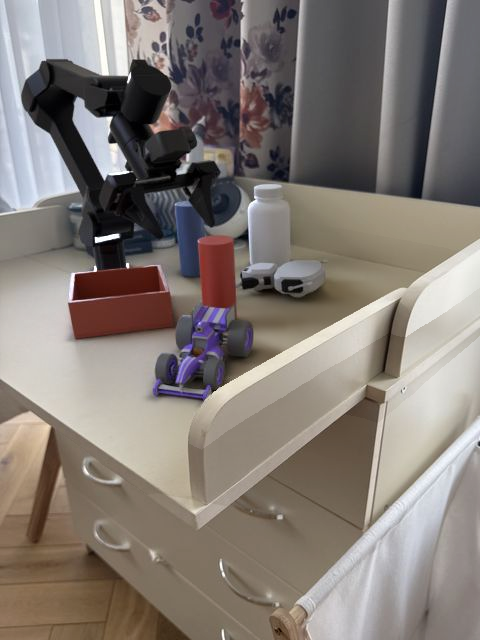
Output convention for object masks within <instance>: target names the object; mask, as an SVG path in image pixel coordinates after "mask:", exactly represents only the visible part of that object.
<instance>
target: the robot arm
mask: <svg viewBox="0 0 480 640" xmlns="http://www.w3.org/2000/svg"><path fill="white" fill-rule="evenodd" d="M171 91H172V81H171V80H170V77H169V76H168V75H167V74H165V73H164V72H163V71H161V70H160V69H159V68H157V67H156V66H153V65H150V64H149V63H148V62H147V61H146V59H138V58H137V59H134V58H133V59H132V60H131V63H130V66H129V72H128V75H112V74H111V75H109V74H108V75H107V74H106V75H104V74H99V73H97V72H95V71H93V70H90V69H89V68H85V67H82V66H81V65H78V64H76V63H74V62H73V61H72V60H69V59H67V58H45V60H41V61H40V64H39V66H38V69H37V70H36V71H34V72H33V73H32V74H30V76H28V77H27V78H26V79H25V81H24V83H23V87H22V90H21V93H20V100H21V104H22V107H23V109H24V111H25V113H27V115H28V116H29V117H30V119H31V120H32V123H34V125H35V126H37V127H38V128H40V129H41V130H43V131H44V132H46V133H48V134H49V136H50V137H51V139H52V141H53V143H54V146H55V147H56V149H57V151H58V152H59V155H60V156H61V158H62V160H63V162H64V165H65V166H66V168H67V170H68V171H69V174H70V176H71V178H72V180H73V181H74V184H75V185H76V187H77V189H78V192H79V193H80V195H81V197H82V205H81V211H80V212H81V213H80V214H81V217H82V218H81V221H80V224H79V227H78V230H77V233H78V237H79V240H80V243H81V244H84V245H85V246H88V247H90V248H92V253H93V258H94V264H95V266H94V268H93V269H94V270H93V271H100V270H110V269H120V268H130V265H129V264H130V263H129V262H127V257H126V250H125V242H124V241H125V240H132V239H134V235H135V225H137V226H138V227H140V228H142V229H143V230H145V231H146V232H148V233H149V234H151V235H152V236H153V237H155V238H156V239H158V240H159V241H160V240H162V239H163V238H164V235H165V234H164V232H163V230H162V228H161V225H160V223H159V222H158V220H157V218H156V216H155V214H154V213H153V210H151V207H150V206H149V204H148V202H147V199H146V195H147V194H152V193H153V194H156V193H157V194H158V193H161V192H163V193H164V192H168V191H175V190H179V189H182V190H183V192H184V193H185V195H186V196H188V199H187V201H189V202H190V204H191V205H192V206H193V208H194V209H195V210H196V211H197V213H198V214H199V215H200V216H201V218H202V219H203V220H204V224H206V225H207V226H208V227H209V228H213V227H215V225H216V219H215V215H214V208H213V203H212V192H211V191H212V188H213V187H214V185H215V183H216V182H217V180H218V179H219V177H220V175H221V174H222V171H221V170H220V168H219V166H218V165H217V163H216V161H215V160H210V159H208V160H200V161H194V162H190V165H189V167H188V169H187V170H186V172H185V173H180V174H178V173H177V170H179V169H180V168H181V167H182V164H183V163H182V161H181V159H182V158H183V157H185V156H186V155H190V153H192V150H194V149H195V148H197V147H198V139H197V137H196V134H195V132H194V130H193V129H192V128H191V127H190V125H184V126H183V125H182V126H179V127H178V129H168V130H167V129H165V130H159V131H157V132H154V130H153V128H152V127H151V125H153V124H156V123H157V122H158V121H159V119H160V117H161V115H162V113H163V110H164V108H165V105H166V103H167V101H168V98H169V95H170V93H171ZM77 98H79V99H81V100H82V101H83V104H84V108H85V109H86V110H87V111H88V112H89V113H90V114H91V115H93V117H95V118H96V119H101V118H104V119H105V118H111V120H110V122H109V125H108V129H109V132H108V135H107V143H108V144H109V145H112V144H113V145H114V144H115V145H117V146H118V147H119V149H120V151H121V153H122V156H123V157H124V158H125V160H126V162H125V165H124V168H125V170H126V171H121V172H115V173H107V174H106V177H105V179H104V177H103V175H102V173H101V172H100V170H99V168H98V166H97V164H96V161H95V160H94V158H93V156H92V154H91V152H90V150H89V149H88V147H87V145H86V143H85V141H84V140H83V136H82V135H81V133H80V131H79V130H78V129H79V128H77V126H76V124H75V122H74V113H75V108H76V107H75V103H76V101H77Z"/></svg>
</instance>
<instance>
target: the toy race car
mask: <svg viewBox="0 0 480 640" xmlns="http://www.w3.org/2000/svg"><path fill="white" fill-rule="evenodd" d="M224 332H227V333H226V334H224ZM225 342H226V343H225ZM175 343H176V344H175V345H176V347H177V348H178V350H180V353H179V354H178V357H177V355H176V354H174V353H170V352H162V353H160V354H159V355H158V357H157V358H156V362H155V367H154V376H155V380H156V382H155V384H154V386H153V387H152V394H153V396H158V395H159V393H160V394H168V395H175V396H182V397H188V398H189V397H190V398H196V399H203V402H204V400H205V399H206V398H207V397H208V396H209V395H210V394H211V393H212V394H213V390H214V391H217V390H216V389H218V388H219V387H221V388H222V386H223V383H224V380H225V376H226V375H225V372H226V370H225V369H226V368H225V367H226V366H225V365H226V355H224V350H223V349H222V347H223V346H226V349H227V353H228V355H229V356H231V357H241V358H248V357H249V356H250V354H251V351H252V348H253V344H254V325H253V322H252V321H251V320H246V319H237V320H236V315H235V303H234V304H233V305H232V306H231V307H230V308H226V309H224V308H213V307H209V306H203V301H202V300H200V301H199V302H198V303H197V304H196V305H195V306H194V307H193V308H192V309H191V314H182V315H181V316H180V317H179V319H178V321H177V324H176V327H175ZM179 362H180V363H179ZM196 378H198V379H202V380H203V386H204V388H205V389H195V388H188V387H184V386H185V383H186V382H192V381H194V380H195V379H196ZM174 382H175V385H178V386H171V384H173V383H174ZM212 394H211V395H212Z"/></svg>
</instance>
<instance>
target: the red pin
mask: <svg viewBox="0 0 480 640" xmlns="http://www.w3.org/2000/svg"><path fill="white" fill-rule="evenodd" d="M198 250H199V263H200V276H199V277H200V290H201V291H200V292H201V301H203V306H209V307H213V308H224V309H226V308H230V307H231V306H232V305H233V304H234V303H235V315H236V320H238V309H237V288H236V282H235V281H236V264H235V263H236V261H235V240H234V238H233V237H231V236H229V235H223V234H213V235H205V237H202V238H200V239H199V240H198Z"/></svg>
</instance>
